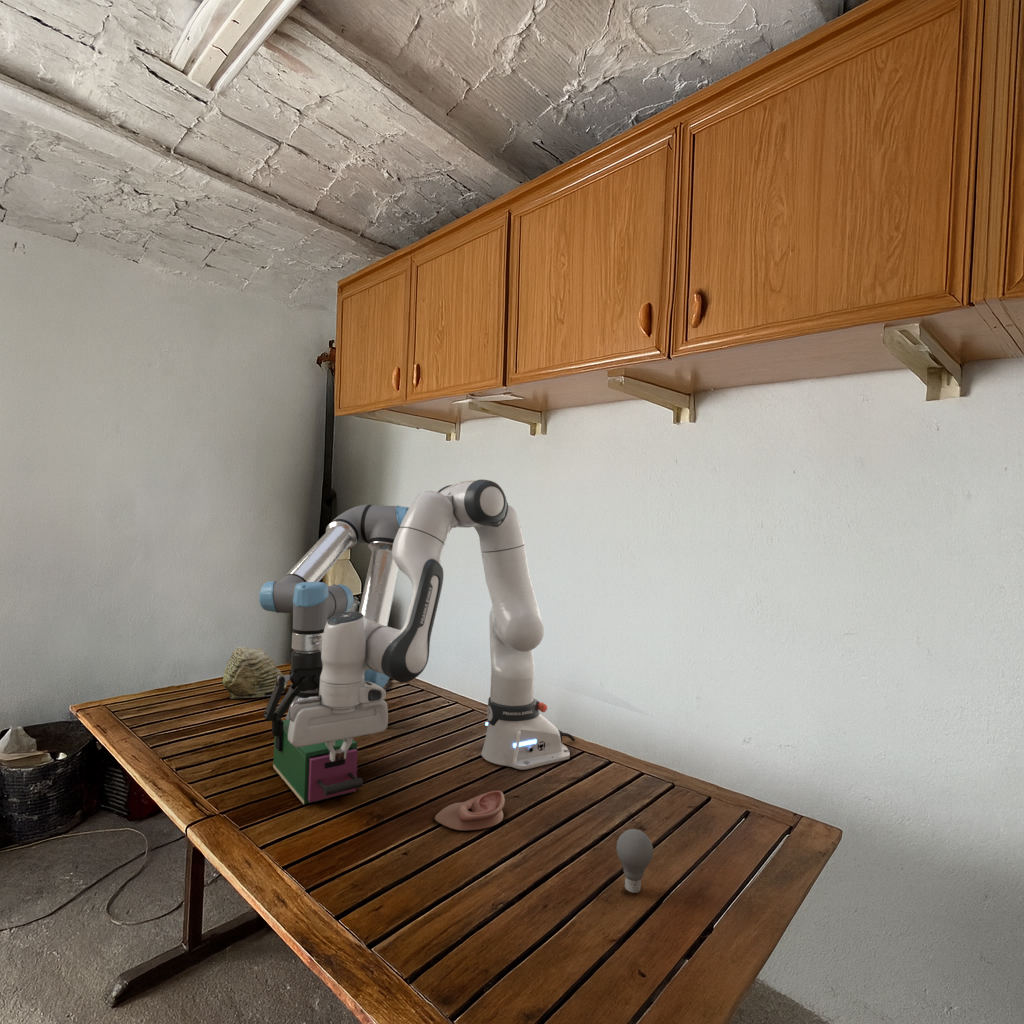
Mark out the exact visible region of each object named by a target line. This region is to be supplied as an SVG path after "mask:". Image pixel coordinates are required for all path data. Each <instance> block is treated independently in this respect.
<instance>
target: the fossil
mask: <svg viewBox="0 0 1024 1024" xmlns="http://www.w3.org/2000/svg"><path fill="white" fill-rule="evenodd" d="M278 674H280V675H283V673H282V672H281V669H279V668H278V667H277V665H276V663H275V662H274V660H273V659H272V658H271V657H270V656H269V655H268V654H267V653H266V652H265V650H264V649H263V648H260V647H258V648H251V647H247V646H246V647H245V646H238V647H237V648H236V649H235V650H233V651H232V653H231V656H230V657H229V659H228V660H227V663H226V666H225V668H224V671H223V675H222V676H223V677H222V685H223V687H224V688H225V690H226V691H228V693H229V698H230V699H250V698H264V697H271V695H272V693H273V690H274V688H275V685H276V676H277V675H278ZM287 687H288V686H287V684H286V685H284V690H283V692H282V694H284V693H285V691H286V689H287Z"/></svg>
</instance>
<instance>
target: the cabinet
mask: <svg viewBox="0 0 1024 1024" xmlns="http://www.w3.org/2000/svg"><path fill="white" fill-rule="evenodd" d="M281 720H282V721H283V722H284V724H283V749H282V751H278V750H277V749H276V748H275V744H276V736H274V735H273V760H272V761H273V763H272V768H273V770H274V771H275V772H276V773H277V774H278V775H279V777H280V778H281V780H283V781H284V782H285V784H286V785H287V786H288V787H289V789H290V790H291V791H292V792H293V793H294V795H295V796H296V797H297V798H298V800H299V801H300V802H301V803H302V805H309V804H311V803H316V802H319V801H323V800H328V798H326V799H322V800H318V801H314V802H309V801H308V789H309V763H310V757H312V756H317V755H321V754H326V753H330V751H329V749H328V748H327V746H326V744H325V742H324V743H319V744H314V745H308V746H303V747H294V746H293V745H292V744H291V743H290V742H289V740H288V730H289V724H290V719H288V720H286V719H281ZM343 742H344V740H342V739H341V740H335V745H334V746H333V745H332V746H333V748H334V750H337V749H340V748H341V746H342V744H343ZM352 749H357V750H358V741H356V740H354V739H353V741H352V744H351V746H350V747H349V750H352ZM354 792H356V791H353V792H349V793H345V794H342V795H346V794H351V793H354ZM342 795H341V796H342ZM338 796H340V795H338ZM338 796H337V797H338ZM335 797H336V796H334V797H333V798H335ZM331 798H332V797H330V798H329V799H331Z"/></svg>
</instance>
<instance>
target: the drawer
mask: <svg viewBox="0 0 1024 1024" xmlns="http://www.w3.org/2000/svg"><path fill="white" fill-rule="evenodd" d="M358 756H359V751H358V748H357V749H352V750H349V749H348V751H347V754H346V759H343V760H338V761H334V762H332V761H331V760H330V753H326V754H321V755H317V756H312V757H310V763H309V789H308V801H309V802H312V803H315V802H314V801H316V802H319V801H318V800H320V801H323V800H322V799H324V800H327V799H331V798H335V797H338V795H339V796H342V794H343V795H346V794H345V793H347V794H350V793H349V792H351V793H354V792H353V791H355V792H356V791H357V789H359V788H362V787H363V786H364V781H363V778H362V777H358ZM334 796H335V797H334ZM330 797H331V798H330ZM326 798H327V799H326Z"/></svg>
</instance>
